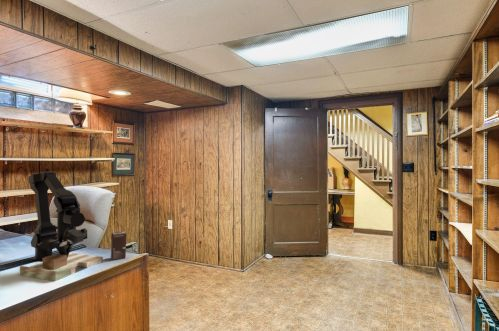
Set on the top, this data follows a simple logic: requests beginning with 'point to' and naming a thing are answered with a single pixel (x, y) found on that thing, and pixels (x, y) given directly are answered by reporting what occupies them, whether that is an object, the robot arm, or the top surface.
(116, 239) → the box
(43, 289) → the top surface
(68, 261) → the trap board
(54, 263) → the block
